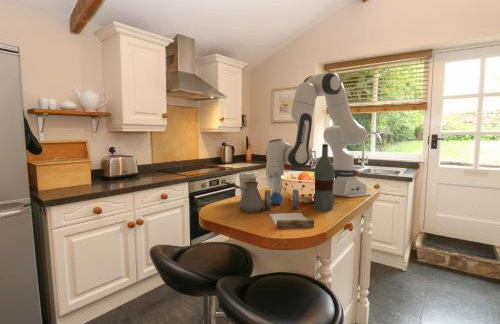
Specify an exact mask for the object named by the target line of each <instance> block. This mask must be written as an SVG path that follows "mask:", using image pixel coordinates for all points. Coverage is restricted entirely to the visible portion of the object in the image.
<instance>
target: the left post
mask: <svg viewBox="0 0 500 324" xmlns="http://www.w3.org/2000/svg"><path fill="white" fill-rule="evenodd" d="M271 195H272V190H271V189H270V190H268V189H265V190H264V211H267V212H269V211H271Z"/></svg>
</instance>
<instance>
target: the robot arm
mask: <svg viewBox="0 0 500 324" xmlns="http://www.w3.org/2000/svg"><path fill="white" fill-rule="evenodd" d="M341 79H342V78H341V77H340V76H339V74H338V73H336V72H323V73H318V74H314V75H310V76H308V77H306V78H305V79H304V80H303V82H301V83H300V84H298V86H297V88H296V91H295V93H294V97H293V99H292V103H291V110H290V115H291V118H292V119H293V120H294V122H295V123H296V126H297V127H296V128H297V129H296V130H297V131H296V136H295V143H294V145H293V144H290V143H288V142H287V141H286V140H285V141H284V139H282V138H275V139H271V140H269V141H268V142H267V145H266V165H265V175H267V176H266V177H267V185H268V187H269V188H270V190H271V195H272V194H273V193H280V194H281V193H282V190H283V189H282V187H283V184H282V183H283V181H282V176H284V170H285V167H284V165H285V164H287V165H290V166H292V167H293V168H295V169H302V168H304V167H306V166H307V165H308V163H309V161H310V157H311V156H310V155H311V154H310V150H309V149H310V146H309V145H310V139H311V132H312V125H313V115H314V110H315V106H316V100H317V98H318V97H323V96H324V97H325V102H326V107H327V111H328V116H329V119H330V120H331V121H333V122H334V123H335V124H337V125H331V126H328V127H326V128H325V130H324V131H323V135H322V136H323V140H324V141H325V143H326V144H328V146H329V147H330V150H331V152H332V158H333V162H332V164H333V166H334V172H335V175H334V178H335V180H334V183H333V196H340V197H346V198H353V197H354V198H355V197H366V196H371V195H372V193H371V192H370V191H368V187H367V184H366V183H365V182H364V180H362V179H361V178H360V177H358V175H360V174H361V171H360V170H355V169H354V167H355V163H354V162H355V156H354V154H353V153H352V152H350V151H349V150H348V148H347V146H359V145H363V144H364V143H365V142H366V141H367V139H368V131H367V129H366V128H365V126H364V125H363V126H362V125H361V124H360V123H359V122H358V121H357V120H356V119H355V117H354V115H353V114H352V112H351V107H350V104H349V99H348V96H347V92H346V89H345V87H344V84H343V83H342V80H341Z"/></svg>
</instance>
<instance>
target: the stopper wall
mask: <svg viewBox="0 0 500 324" xmlns="http://www.w3.org/2000/svg"><path fill="white" fill-rule="evenodd" d="M276 228H277V229H279V230H280V229H296V228H297V229H298V228H299V229H301V228H302V229H303V228H315V220H314V219H313V218H306V219H300V220H277V225H276Z"/></svg>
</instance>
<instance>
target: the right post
mask: <svg viewBox="0 0 500 324" xmlns="http://www.w3.org/2000/svg"><path fill="white" fill-rule="evenodd" d="M292 210H295V211H297V210H299V189H295V188H294V189H292Z"/></svg>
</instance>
